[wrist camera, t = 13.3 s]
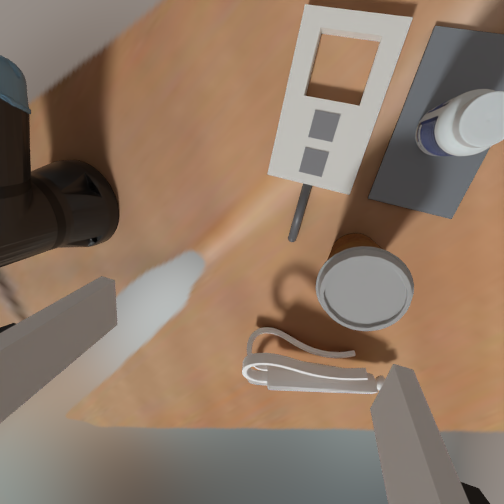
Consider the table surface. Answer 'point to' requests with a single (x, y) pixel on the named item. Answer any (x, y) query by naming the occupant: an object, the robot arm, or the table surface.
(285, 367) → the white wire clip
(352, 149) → the socket strip
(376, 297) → the disposable coffee cup
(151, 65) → the table surface
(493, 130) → the pill bottle
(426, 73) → the rubber mat
